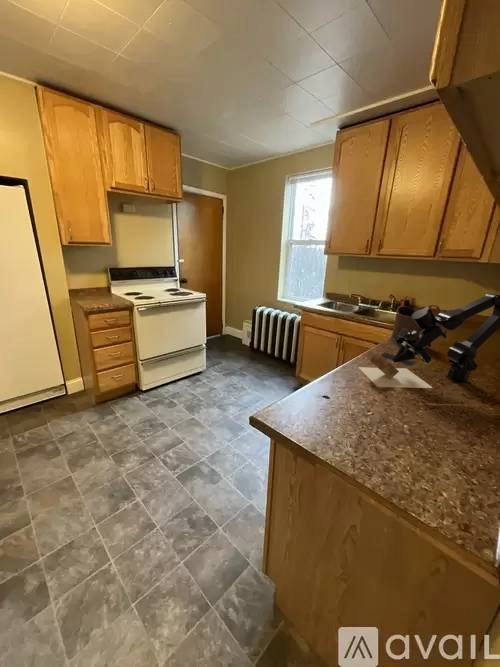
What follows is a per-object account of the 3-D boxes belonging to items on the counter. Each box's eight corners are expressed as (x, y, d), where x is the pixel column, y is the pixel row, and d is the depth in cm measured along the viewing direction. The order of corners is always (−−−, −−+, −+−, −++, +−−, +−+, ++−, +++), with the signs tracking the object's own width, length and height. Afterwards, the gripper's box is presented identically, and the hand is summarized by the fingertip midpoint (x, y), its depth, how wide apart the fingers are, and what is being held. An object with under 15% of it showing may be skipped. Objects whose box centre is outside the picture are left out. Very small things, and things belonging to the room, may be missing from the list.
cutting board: (406, 369, 125) (406, 368, 125) (432, 389, 108) (433, 387, 108) (358, 368, 124) (358, 367, 124) (377, 388, 107) (377, 386, 107)
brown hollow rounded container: (405, 337, 174) (413, 297, 166) (441, 351, 152) (453, 305, 145) (381, 339, 168) (389, 297, 160) (415, 353, 146) (426, 306, 139)
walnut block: (393, 366, 117) (372, 348, 114) (399, 371, 113) (377, 352, 110) (385, 374, 118) (364, 356, 115) (390, 379, 114) (369, 360, 111)
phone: (385, 352, 144) (416, 361, 133) (384, 354, 144) (416, 363, 134) (378, 355, 138) (411, 365, 128) (378, 358, 139) (410, 368, 128)
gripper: (402, 316, 118) (372, 340, 121) (431, 329, 100) (395, 356, 103) (415, 335, 121) (385, 357, 124) (446, 350, 103) (411, 376, 106)
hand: (393, 361), depth 114 cm, fingers closed
